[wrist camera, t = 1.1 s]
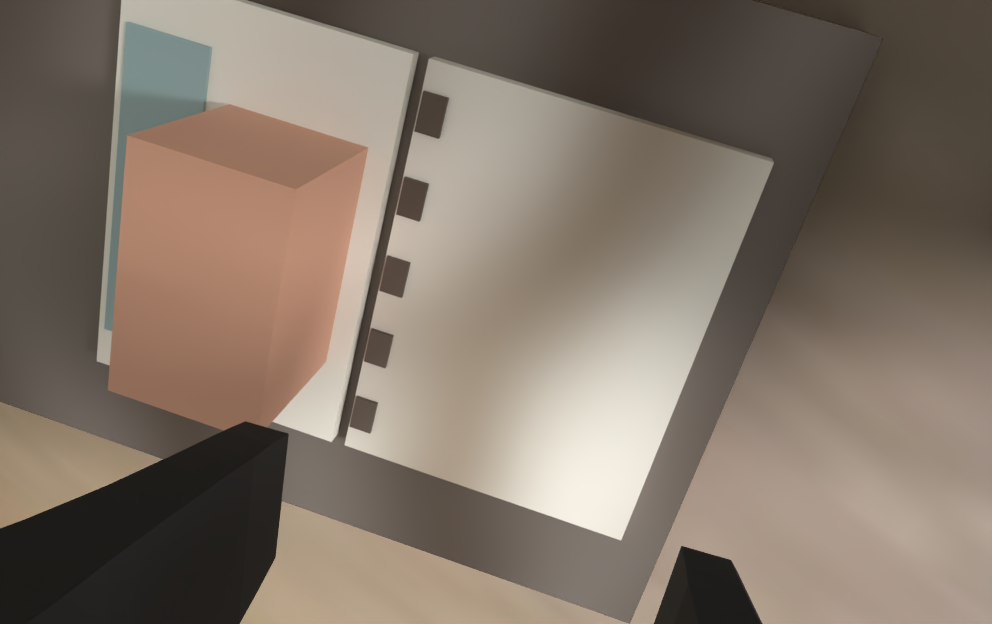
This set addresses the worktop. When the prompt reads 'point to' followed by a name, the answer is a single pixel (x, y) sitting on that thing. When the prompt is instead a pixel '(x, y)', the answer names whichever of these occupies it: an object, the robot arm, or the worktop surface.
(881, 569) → the worktop surface
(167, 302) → the stub
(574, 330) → the ticket board
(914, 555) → the worktop surface
